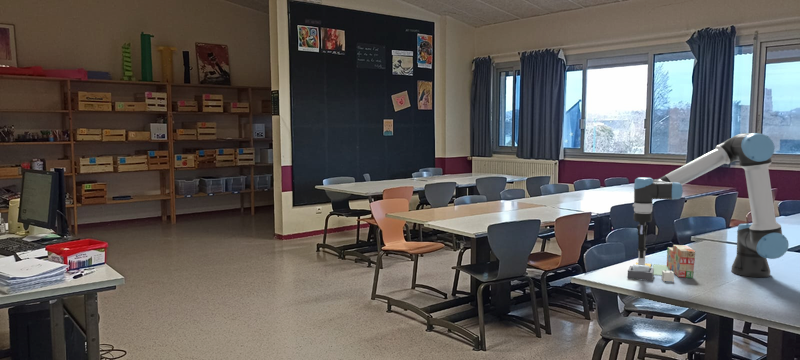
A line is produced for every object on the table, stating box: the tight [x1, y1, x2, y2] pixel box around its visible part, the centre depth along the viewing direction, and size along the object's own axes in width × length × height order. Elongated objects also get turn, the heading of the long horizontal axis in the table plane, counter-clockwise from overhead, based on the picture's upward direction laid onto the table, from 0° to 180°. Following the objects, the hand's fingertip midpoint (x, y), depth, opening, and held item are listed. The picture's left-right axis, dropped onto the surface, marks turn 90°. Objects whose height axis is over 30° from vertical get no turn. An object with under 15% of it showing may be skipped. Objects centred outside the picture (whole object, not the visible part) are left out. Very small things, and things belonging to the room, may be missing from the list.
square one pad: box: [652, 264, 670, 277], centre depth 266 cm, size 7×22×1 cm, turn 152°
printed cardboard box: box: [666, 244, 696, 279], centre depth 261 cm, size 21×6×12 cm, turn 168°
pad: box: [635, 262, 652, 268], centre depth 269 cm, size 7×22×1 cm, turn 152°
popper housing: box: [627, 265, 655, 282], centre depth 253 cm, size 10×10×4 cm
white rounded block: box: [632, 263, 651, 272], centre depth 253 cm, size 7×7×4 cm
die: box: [661, 270, 675, 283], centre depth 247 cm, size 4×4×4 cm
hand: (641, 264), depth 252 cm, fingers closed
